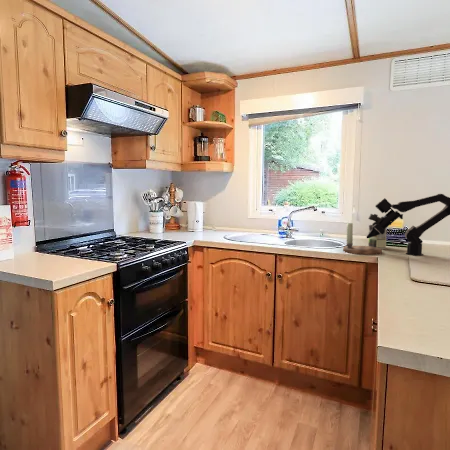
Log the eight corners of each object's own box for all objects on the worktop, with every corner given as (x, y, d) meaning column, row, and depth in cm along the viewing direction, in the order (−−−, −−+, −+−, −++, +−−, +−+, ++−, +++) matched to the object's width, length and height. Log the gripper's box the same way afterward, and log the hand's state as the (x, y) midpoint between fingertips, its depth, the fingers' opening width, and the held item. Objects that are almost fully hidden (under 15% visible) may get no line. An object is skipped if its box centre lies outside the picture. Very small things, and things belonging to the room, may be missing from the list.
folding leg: (352, 245, 199) (352, 223, 198) (352, 245, 196) (352, 223, 195) (346, 244, 200) (346, 223, 199) (346, 245, 197) (346, 223, 196)
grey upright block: (367, 248, 208) (367, 225, 207) (369, 246, 217) (370, 224, 216) (385, 249, 203) (386, 226, 202) (386, 247, 212) (387, 225, 211)
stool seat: (380, 250, 202) (380, 242, 202) (383, 255, 182) (383, 247, 182) (343, 248, 209) (343, 241, 209) (342, 253, 190) (342, 245, 190)
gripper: (376, 208, 200) (356, 226, 205) (378, 209, 182) (356, 229, 187) (391, 221, 198) (370, 239, 203) (394, 224, 180) (371, 243, 185)
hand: (366, 237), depth 194 cm, fingers closed
